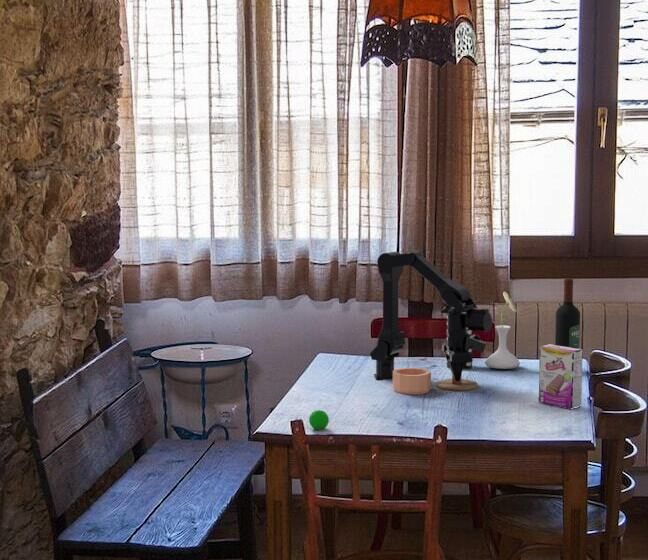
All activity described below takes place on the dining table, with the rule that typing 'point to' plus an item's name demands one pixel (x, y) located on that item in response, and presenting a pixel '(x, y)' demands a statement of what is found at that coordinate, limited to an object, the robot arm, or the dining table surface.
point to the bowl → (411, 380)
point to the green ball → (318, 419)
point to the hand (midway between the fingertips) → (456, 380)
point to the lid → (456, 384)
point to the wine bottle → (567, 320)
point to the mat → (455, 391)
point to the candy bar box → (560, 376)
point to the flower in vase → (503, 344)
